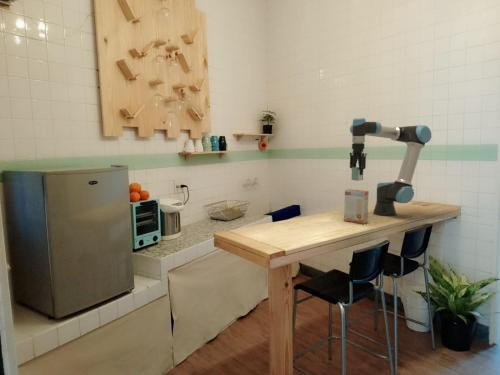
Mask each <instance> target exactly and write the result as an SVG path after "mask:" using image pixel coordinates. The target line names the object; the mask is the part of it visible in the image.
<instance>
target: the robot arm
mask: <svg viewBox="0 0 500 375" xmlns="http://www.w3.org/2000/svg"><path fill="white" fill-rule="evenodd" d="M349 131H350V134H352V135H351V136H352V138H351V140H352V141H351V142H352V144H351V149H352V152H349V168H350V169H351V170H352V167H357V163H358V167H359V169H358V181H363V180H362V175H363V176H364V170H365V169H367V168H366V166H367V165H366V164H367V155H368V154H367V153H366V152H364V149H365V141H366V137H365V136H367V137H368V136H369V137H376V138H377V137H378V138H382V139H383V138H384V139H390V140H392V141H394V142H399V143H405V144H406V149H405V153H404V157H403V160H402V164H401V167H400V170H399V172H398V177H397V179H396V180H394V182H393V181H389V182H378V183H377V185H376V201H375V202H376V203H375V206H374V209H373V212H372V213H373V214H374V215H377V216H387V217H392V216H396V215H397V211H396V208H395V203H399V204H408V203H409V202H411V201H412V200H413V198H414V195H415V192H414V188H413V184H412V180H413V176H414V173H415V170H416V167H417V163H418V159H419V156H420V153H421V150H422V149H423V148H425V146H426V144H427V143H429V142H430V140H431V139H432V131H431V128H429V126H427V125H425V124H423V125H421V124H419V125H409V126H408V125H406V126H393V127H388V126H382V124H381V122H378V121H366V118H365V117H355V118H353V119H352V124H351V125H350V126H349Z"/></svg>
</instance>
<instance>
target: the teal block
mask: <svg viewBox="0 0 500 375" xmlns="http://www.w3.org/2000/svg"><path fill="white" fill-rule="evenodd" d="M358 169H359V166H356V167H352V169H351V181H355V182H358V181H359V180H358ZM361 181H364V174H363V175H362V180H361Z"/></svg>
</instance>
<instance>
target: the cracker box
mask: <svg viewBox="0 0 500 375" xmlns="http://www.w3.org/2000/svg"><path fill="white" fill-rule="evenodd" d="M369 193H370V192H369V190H361V189H349V188H348V189H345V190H344V212H343V219H344V220H343V221H344V222H348V223H353V224H354V223H355V224H360V225H364V224H368V221H369V220H368V218H369V216H368V215H369Z"/></svg>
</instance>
